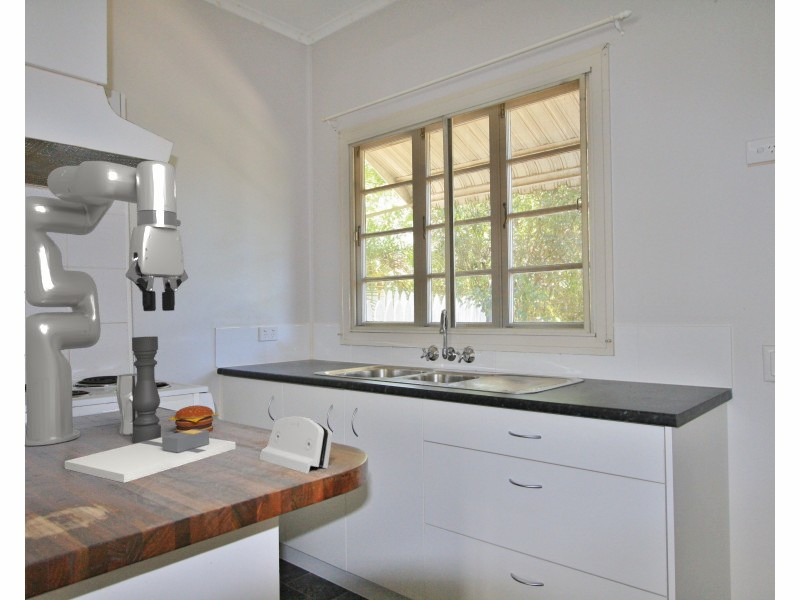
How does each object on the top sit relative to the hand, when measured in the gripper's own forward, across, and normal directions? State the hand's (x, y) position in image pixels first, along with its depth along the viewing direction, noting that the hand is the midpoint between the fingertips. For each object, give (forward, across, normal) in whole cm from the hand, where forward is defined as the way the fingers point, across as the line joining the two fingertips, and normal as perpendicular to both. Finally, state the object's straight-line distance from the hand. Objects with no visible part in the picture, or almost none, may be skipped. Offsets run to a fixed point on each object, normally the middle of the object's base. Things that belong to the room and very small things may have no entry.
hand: (159, 309), depth 111 cm
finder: (+30, -6, 0) cm, 30 cm away
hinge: (+32, -12, +26) cm, 43 cm away
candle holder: (+31, -10, -20) cm, 39 cm away
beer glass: (+31, -14, -32) cm, 47 cm away
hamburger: (+32, -22, -18) cm, 42 cm away
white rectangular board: (+31, -1, -4) cm, 32 cm away
